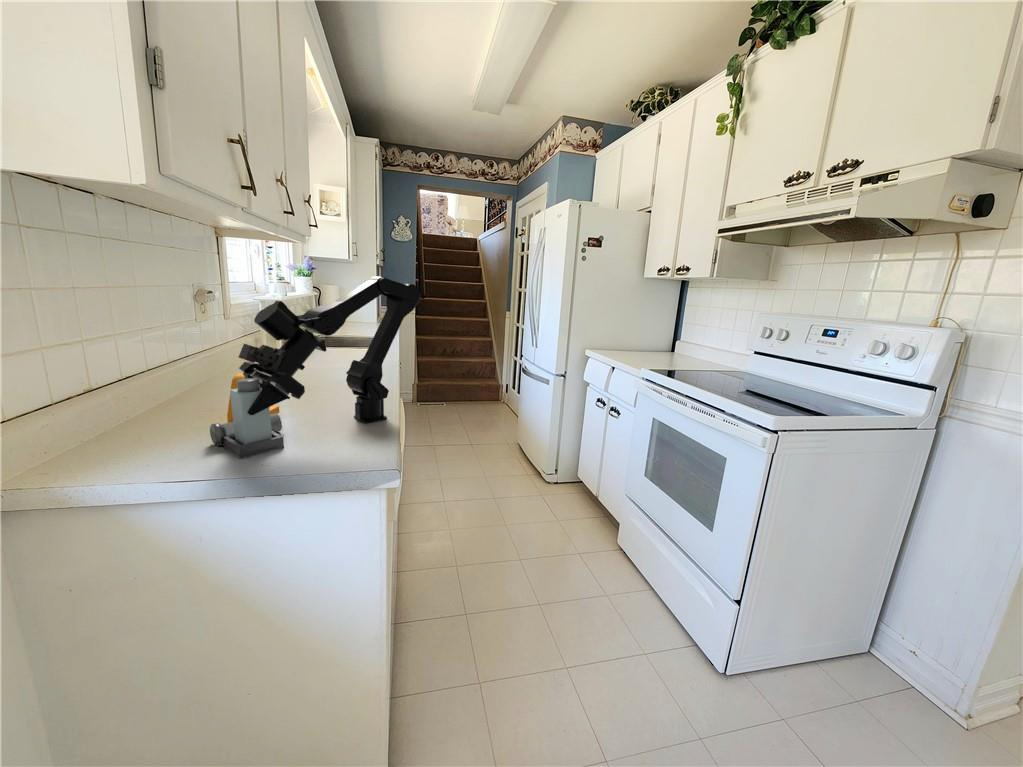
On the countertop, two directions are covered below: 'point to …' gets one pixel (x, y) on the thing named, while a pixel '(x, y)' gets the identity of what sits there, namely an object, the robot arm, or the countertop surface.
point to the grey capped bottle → (244, 423)
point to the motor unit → (226, 437)
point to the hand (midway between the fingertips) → (243, 411)
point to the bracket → (273, 409)
